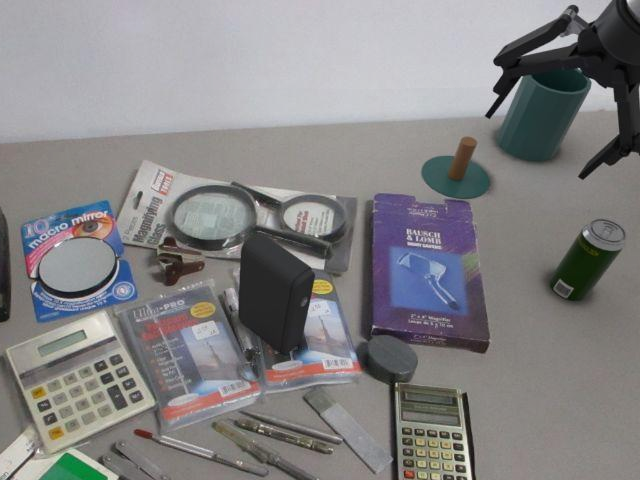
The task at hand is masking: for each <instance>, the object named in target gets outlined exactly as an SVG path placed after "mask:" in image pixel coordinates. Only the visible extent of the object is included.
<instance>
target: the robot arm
mask: <svg viewBox="0 0 640 480" xmlns="http://www.w3.org/2000/svg"><path fill="white" fill-rule="evenodd" d="M579 8H580V7H579V6H578V5H576V4H570V5H568V6H567V7H566V8H565V10H564V11H562V13H561V14H560V15H559V16H558V17H557V18H555V19H553V20H551V21H549V22H547V23H546V24H544V25H542V26H540V27H538V28H536V29H534V30H531V31H530V32H528V33H526V34H524V35H522V36H520V37H518V38H517V39H515V40H513V41H511V42H509V43H507V44H505V45H504V46H502V48H501V49H500V51H499V52H498V53H497V55H495V57H494V58H493V59H492V63H493V65H494V66H496V67H500V68H501V70H502V74H501V75H500V77H499V79H498V80H497V81H496V82H495V84H494V86H492V92H493V93H494V94H496V95H497V97H496V99H495V100H494V102H493V103H492V105H491V106H490V108H489V109H488V110H487V112H486V113H485V114H484V117H485V118H486V119H488V120H490V119H491V118H492V117H493V116H494V115H495V113H496V112H497V110H498V109H499V108H500V107H501V106H502V104H503V102H504V101H505V100H506V98H507V97H508V96H509V95H510V93H511V92H512V91H513V89H514V87H515V86H516V85H517V84H518V83H519V81H520V80H521V79H522V77H523V76H527V75H532V74H537V73H543V72H548V71H553V70H559V69H563V70H564V71H566V70H572V69H579V70H581V71H582V72H581V74H582V75H584V76H585V77H588V78H589V79H590V80H594V81H595V82H596V84H598V85H599V86H600V87H601V88H603V89H605V90H606V89H607V88H609V89H612V90H613V101H614V103H616V111H617V122H618V134H617V135H616V136H615V137H614V138H613V139H612V140H610V141H609V142H608V143H607V144H606V145H605V146H604V147H602V149H601V150H599V151H598V152H597V153H596V154H595V155H594V156H593V157H592V158H591V159H589V160H588V161H587V162H586V164H585V165H584V167H583V168H582V170H581V171H580V172H579V174H578V176H577V178H578V179H580V180H582V181H584V180H585V179H586V178H587V177H588V176H590V175H591V174H592V173H593V172H594V171H596V169H598V168H599V167H600V166H602V164H603V163H604V164H605V165H607V166H609V167H611V166H615V164H617V163H618V162H619V161H620V160H622V159H623V158H627V157H630V155H631V153H636V154H638V156H639V157H640V0H611V1H610V2H609V3H608V5H606V7H605V8H604V10H603V11H602V12H601V13H600V14H599V16H598V17H597V18H596V19H594V20H593V21H591V22H587V21H586V20H585V19H584V18H582V17H581V16H580V15H578V14H579V12H580V9H579ZM570 35H577V39H576V41H575V42H573V43H572V44H570V45H568V46H567V45H566V46H562V47H557V48H553V49H548V50H544V51H538V52H534V53H531V52H533V51H536V50H537V49H539V48H541V47H544V46H545V45H547V44H549V43H551V42H553V41H554V40H555V39H557V38H558V37H560V39H561V38H565V37H569V36H570Z"/></svg>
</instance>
